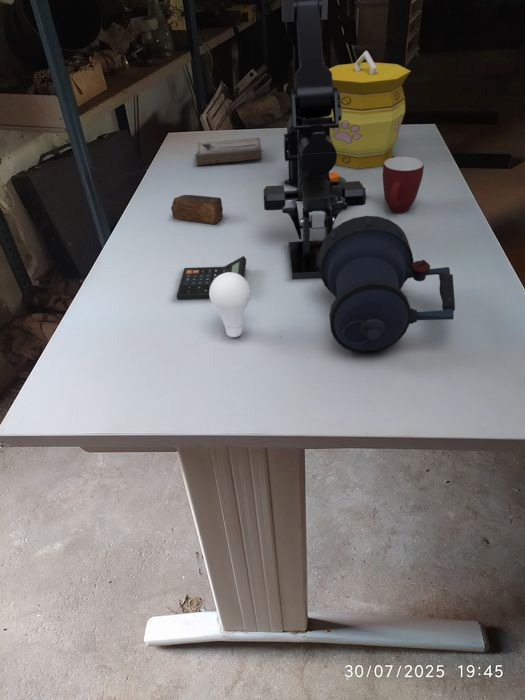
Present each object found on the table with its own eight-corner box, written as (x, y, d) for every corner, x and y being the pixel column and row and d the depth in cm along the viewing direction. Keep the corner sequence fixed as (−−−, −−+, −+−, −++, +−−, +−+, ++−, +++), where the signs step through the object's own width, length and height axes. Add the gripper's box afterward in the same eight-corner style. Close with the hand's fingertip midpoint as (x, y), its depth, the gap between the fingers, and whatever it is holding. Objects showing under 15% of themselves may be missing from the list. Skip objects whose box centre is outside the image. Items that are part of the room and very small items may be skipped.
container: (356, 179, 131) (362, 64, 115) (304, 156, 145) (303, 51, 129) (418, 158, 139) (432, 49, 123) (363, 138, 153) (369, 38, 138)
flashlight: (316, 288, 93) (433, 283, 92) (323, 375, 78) (464, 371, 77) (316, 212, 83) (448, 205, 82) (325, 295, 68) (487, 288, 67)
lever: (300, 231, 106) (300, 219, 105) (326, 230, 106) (325, 217, 105) (304, 228, 95) (303, 214, 95) (332, 227, 95) (332, 213, 94)
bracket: (288, 247, 106) (287, 199, 100) (339, 244, 106) (341, 196, 99) (292, 279, 97) (290, 229, 90) (347, 276, 96) (350, 225, 90)
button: (319, 183, 121) (319, 175, 120) (329, 178, 123) (329, 170, 122) (332, 187, 119) (332, 179, 118) (342, 181, 121) (342, 174, 120)
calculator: (185, 271, 101) (182, 257, 99) (247, 270, 100) (246, 255, 98) (177, 299, 93) (174, 285, 91) (244, 298, 93) (243, 283, 91)
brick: (223, 217, 118) (221, 196, 115) (216, 225, 115) (213, 204, 112) (181, 212, 121) (177, 192, 118) (172, 219, 118) (169, 199, 115)
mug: (414, 224, 111) (420, 176, 104) (374, 220, 113) (378, 174, 107) (419, 203, 118) (425, 157, 112) (382, 200, 120) (386, 155, 114)
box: (262, 160, 142) (261, 148, 140) (196, 166, 142) (195, 154, 141) (261, 148, 150) (260, 136, 149) (199, 153, 151) (198, 142, 149)
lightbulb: (214, 326, 87) (206, 266, 80) (252, 322, 87) (247, 262, 80) (215, 349, 82) (207, 288, 75) (255, 346, 82) (250, 284, 75)
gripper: (262, 174, 90) (266, 259, 100) (373, 168, 90) (367, 253, 99) (261, 155, 100) (265, 234, 109) (363, 149, 99) (358, 229, 108)
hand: (313, 238), depth 106 cm, fingers closed on lever, 5 cm apart
